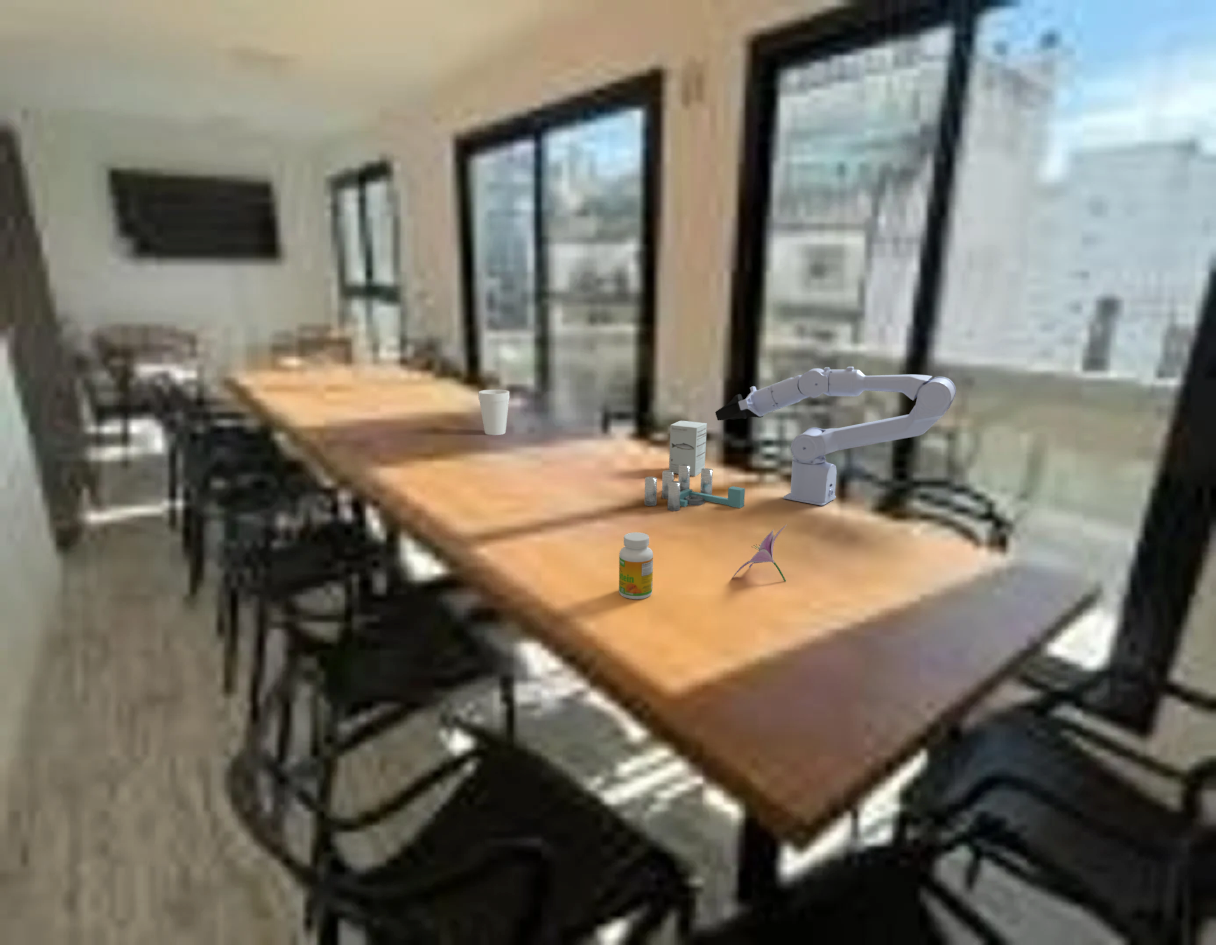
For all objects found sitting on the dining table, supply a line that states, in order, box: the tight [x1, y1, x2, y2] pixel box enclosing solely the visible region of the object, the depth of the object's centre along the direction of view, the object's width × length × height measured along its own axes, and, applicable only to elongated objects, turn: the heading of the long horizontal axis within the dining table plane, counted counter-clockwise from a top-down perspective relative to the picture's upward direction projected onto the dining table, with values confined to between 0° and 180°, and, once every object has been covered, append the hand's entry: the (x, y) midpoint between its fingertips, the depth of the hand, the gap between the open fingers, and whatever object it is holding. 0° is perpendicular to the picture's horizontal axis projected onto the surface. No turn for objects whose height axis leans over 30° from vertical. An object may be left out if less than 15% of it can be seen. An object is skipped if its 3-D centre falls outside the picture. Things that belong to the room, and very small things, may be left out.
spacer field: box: [644, 464, 714, 512], centre depth 180 cm, size 9×17×6 cm, turn 143°
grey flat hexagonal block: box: [684, 495, 706, 507], centre depth 178 cm, size 4×5×1 cm
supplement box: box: [668, 420, 708, 477], centre depth 203 cm, size 7×7×13 cm
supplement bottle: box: [618, 532, 654, 600], centre depth 128 cm, size 5×5×10 cm
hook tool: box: [680, 486, 746, 509], centre depth 176 cm, size 14×9×4 cm, turn 53°
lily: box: [731, 524, 787, 582], centre depth 135 cm, size 12×12×10 cm
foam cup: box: [478, 388, 511, 436], centre depth 249 cm, size 10×9×13 cm
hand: (723, 415), depth 187 cm, fingers open, 7 cm apart
